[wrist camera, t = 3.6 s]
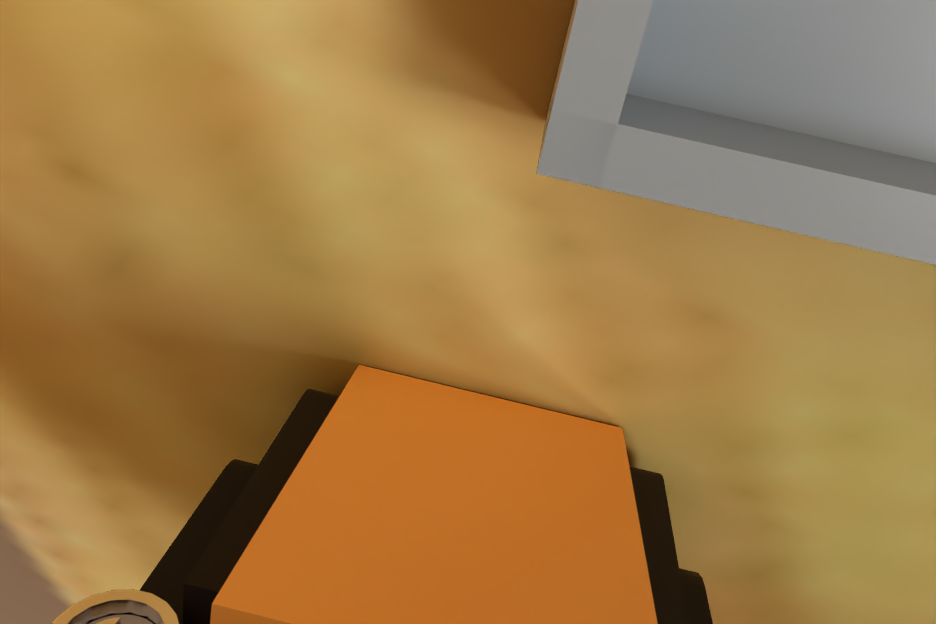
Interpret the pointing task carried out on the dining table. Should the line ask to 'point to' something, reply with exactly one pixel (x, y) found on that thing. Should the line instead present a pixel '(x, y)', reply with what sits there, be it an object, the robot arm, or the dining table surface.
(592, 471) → the orange cube-like block
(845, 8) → the tray
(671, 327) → the dining table surface
